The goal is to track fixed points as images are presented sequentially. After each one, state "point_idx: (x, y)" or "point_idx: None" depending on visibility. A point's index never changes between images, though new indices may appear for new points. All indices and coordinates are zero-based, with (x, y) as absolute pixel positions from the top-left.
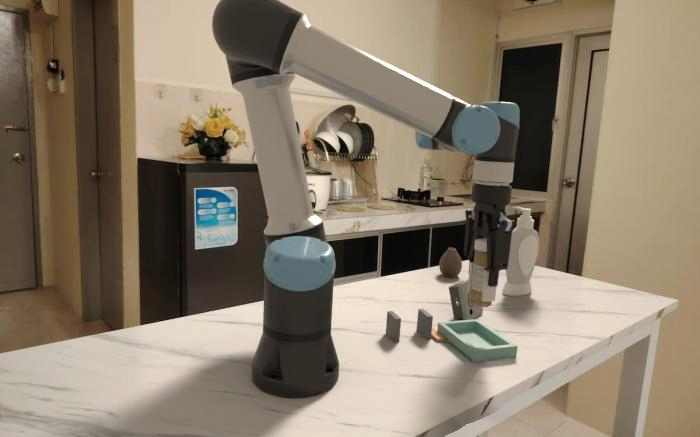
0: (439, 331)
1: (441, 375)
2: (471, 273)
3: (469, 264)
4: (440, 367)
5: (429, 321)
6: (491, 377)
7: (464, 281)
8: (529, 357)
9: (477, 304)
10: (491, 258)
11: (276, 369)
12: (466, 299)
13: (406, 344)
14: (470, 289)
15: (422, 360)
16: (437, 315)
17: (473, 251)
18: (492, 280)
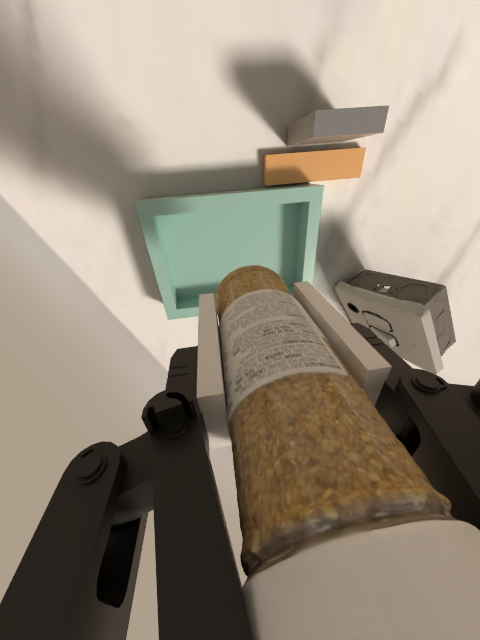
0: (303, 185)
1: (45, 39)
2: (331, 329)
3: (400, 358)
4: (103, 70)
5: (307, 125)
6: (69, 208)
7: (430, 333)
8: (173, 329)
9: (225, 278)
10: (156, 526)
11: None
12: (376, 309)
13: (266, 14)
14: (299, 293)
15: (147, 17)
16: (395, 237)
17: (449, 457)
18: (168, 375)
